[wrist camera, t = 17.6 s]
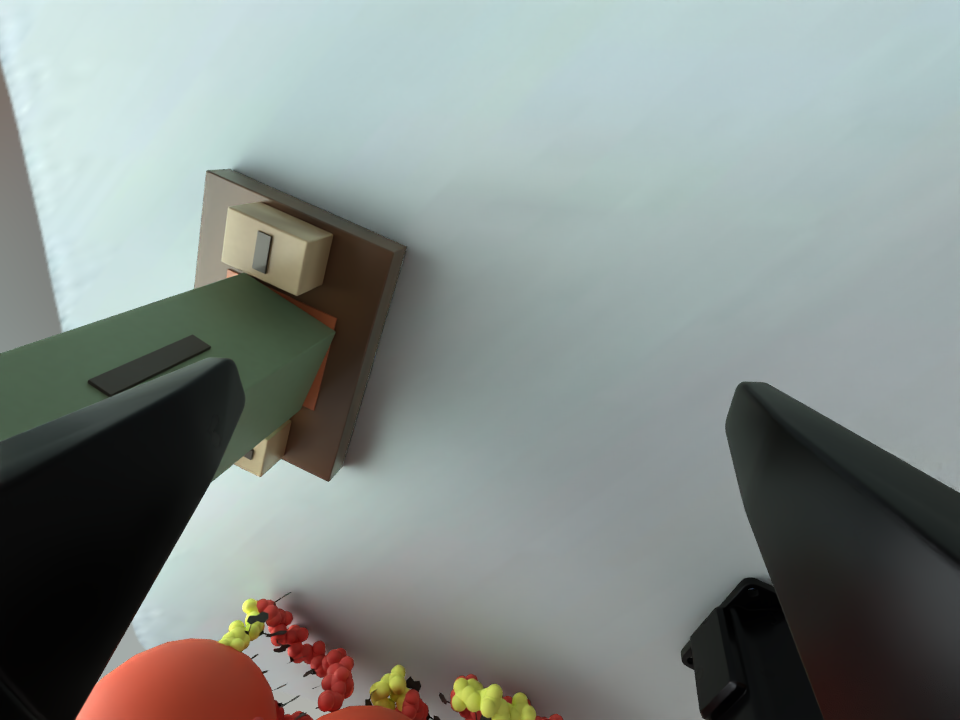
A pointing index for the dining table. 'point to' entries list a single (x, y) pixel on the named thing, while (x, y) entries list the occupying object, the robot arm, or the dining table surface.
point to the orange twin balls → (247, 695)
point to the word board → (304, 302)
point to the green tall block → (173, 358)
